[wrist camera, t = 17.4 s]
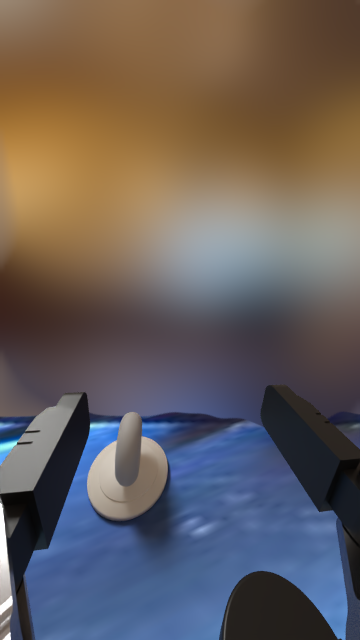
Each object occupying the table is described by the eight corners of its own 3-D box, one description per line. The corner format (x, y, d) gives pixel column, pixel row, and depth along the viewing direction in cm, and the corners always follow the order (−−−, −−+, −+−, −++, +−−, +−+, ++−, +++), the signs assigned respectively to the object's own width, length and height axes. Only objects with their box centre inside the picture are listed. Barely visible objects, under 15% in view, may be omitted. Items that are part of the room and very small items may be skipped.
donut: (138, 502, 28) (137, 451, 26) (113, 505, 28) (110, 452, 25) (142, 441, 38) (143, 398, 35) (124, 442, 38) (123, 399, 35)
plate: (164, 436, 41) (165, 432, 40) (171, 514, 28) (171, 508, 28) (99, 442, 39) (98, 437, 38) (75, 527, 26) (74, 521, 26)
